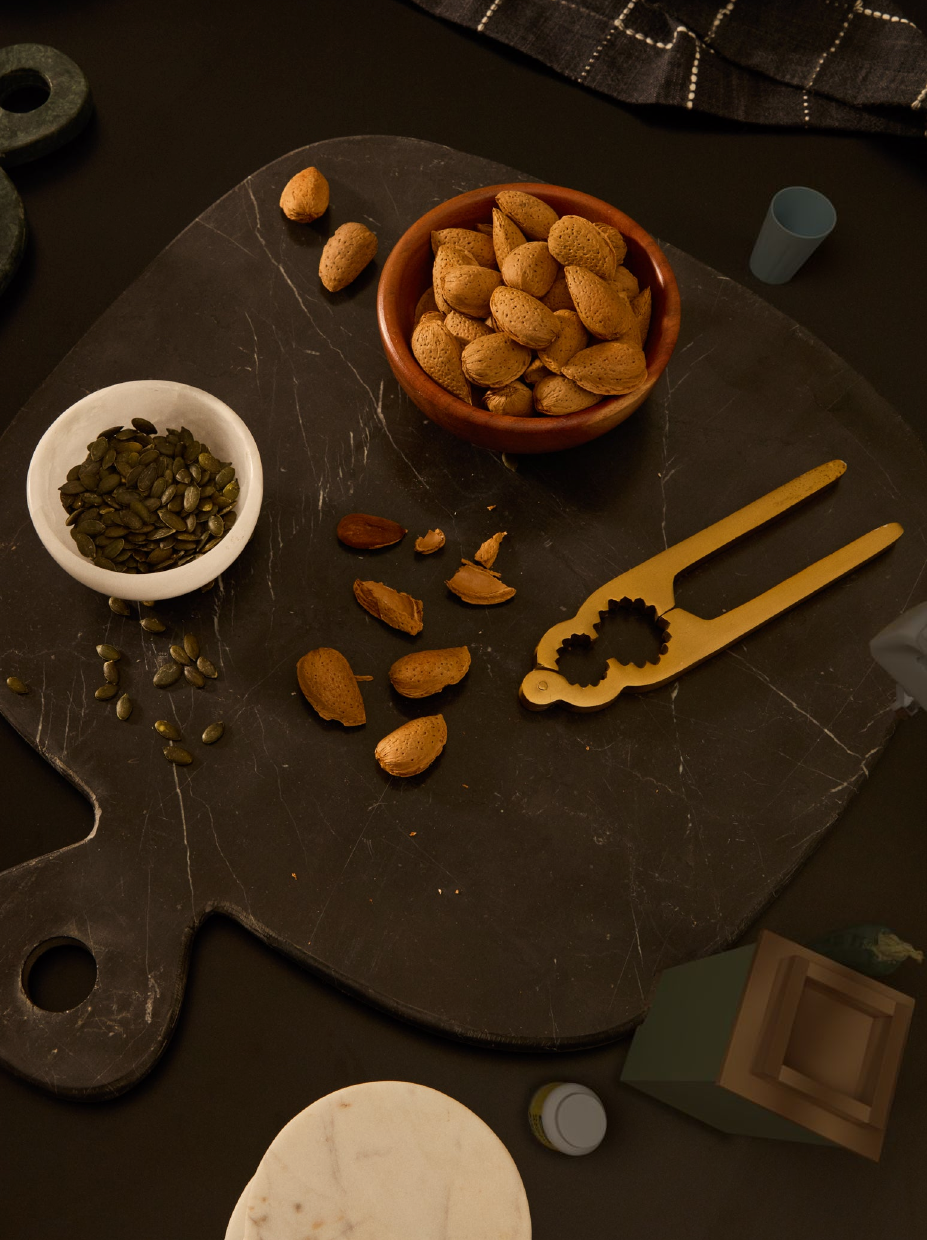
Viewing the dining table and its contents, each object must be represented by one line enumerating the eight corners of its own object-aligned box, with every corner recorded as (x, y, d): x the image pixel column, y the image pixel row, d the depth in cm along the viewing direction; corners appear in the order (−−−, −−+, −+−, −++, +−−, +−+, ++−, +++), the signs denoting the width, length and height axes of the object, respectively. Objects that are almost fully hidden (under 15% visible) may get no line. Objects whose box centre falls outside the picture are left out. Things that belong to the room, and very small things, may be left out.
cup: (810, 289, 143) (846, 234, 134) (751, 296, 142) (783, 241, 133) (790, 241, 146) (823, 183, 137) (732, 247, 145) (762, 189, 136)
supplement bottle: (514, 1114, 102) (535, 1117, 93) (556, 1068, 104) (581, 1067, 95) (558, 1165, 101) (584, 1174, 92) (600, 1118, 102) (629, 1122, 93)
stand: (756, 1021, 106) (900, 1004, 81) (724, 1133, 102) (866, 1151, 77) (653, 972, 108) (764, 940, 82) (618, 1080, 104) (723, 1081, 78)
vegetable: (775, 948, 109) (871, 922, 91) (815, 931, 110) (917, 902, 92) (799, 995, 108) (901, 978, 89) (839, 977, 108) (948, 957, 90)
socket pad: (909, 1000, 81) (938, 996, 78) (871, 1162, 77) (900, 1166, 73) (759, 930, 83) (781, 923, 79) (714, 1085, 78) (735, 1085, 75)
